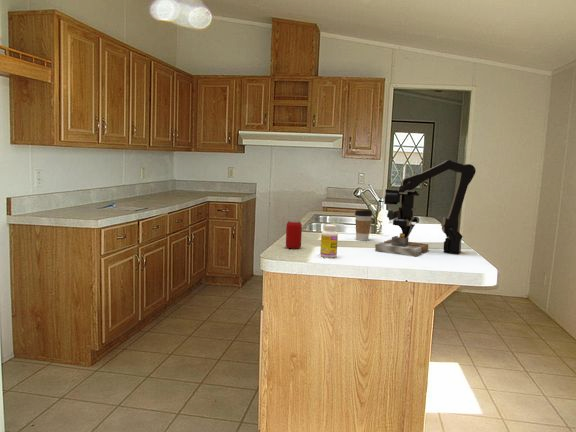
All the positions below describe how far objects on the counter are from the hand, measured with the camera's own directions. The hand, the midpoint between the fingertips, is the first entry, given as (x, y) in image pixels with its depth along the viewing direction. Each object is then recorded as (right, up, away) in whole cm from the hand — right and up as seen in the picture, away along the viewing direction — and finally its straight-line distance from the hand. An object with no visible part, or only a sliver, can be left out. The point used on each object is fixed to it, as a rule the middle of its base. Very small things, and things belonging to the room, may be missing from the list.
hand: (405, 239), depth 220 cm
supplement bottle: (-36, -6, -21) cm, 43 cm away
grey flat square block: (-2, -5, -3) cm, 6 cm away
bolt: (-3, -2, -4) cm, 5 cm away
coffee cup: (-16, -2, +25) cm, 29 cm away
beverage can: (-50, -4, -4) cm, 51 cm away
